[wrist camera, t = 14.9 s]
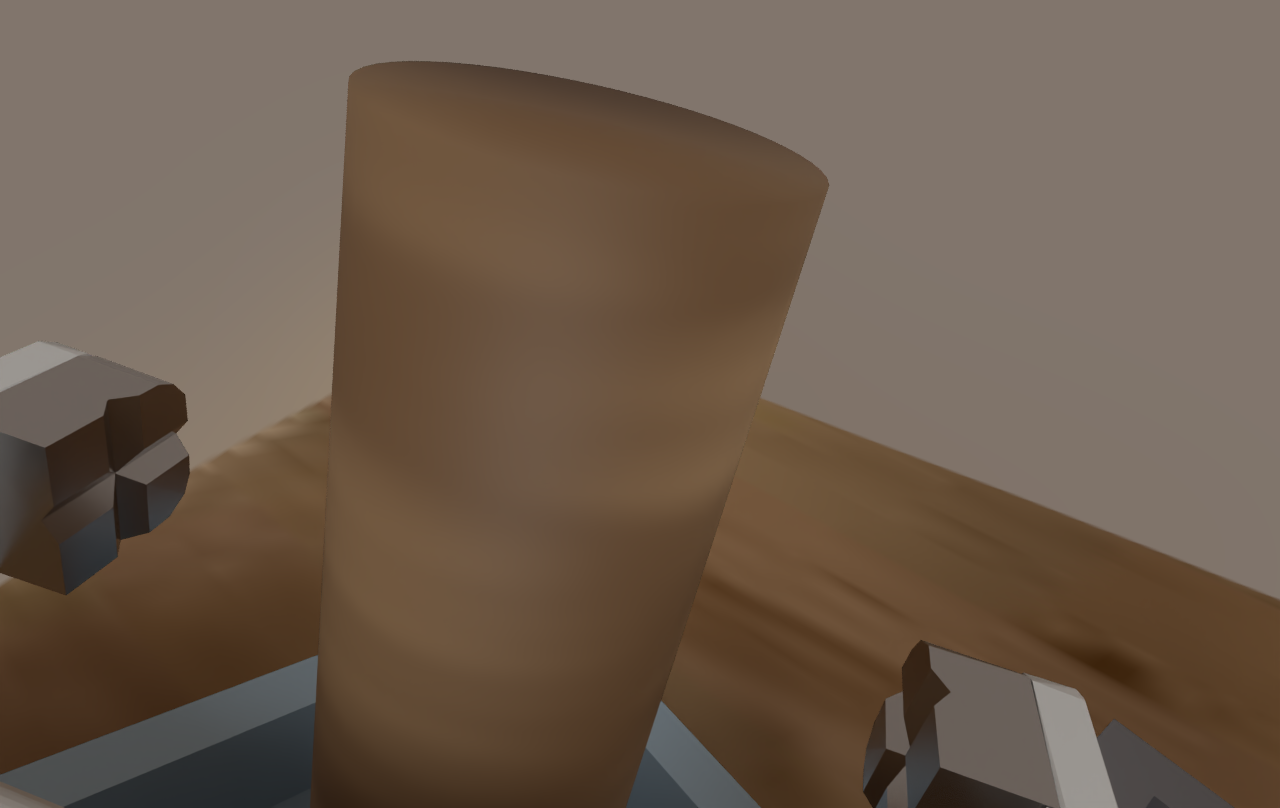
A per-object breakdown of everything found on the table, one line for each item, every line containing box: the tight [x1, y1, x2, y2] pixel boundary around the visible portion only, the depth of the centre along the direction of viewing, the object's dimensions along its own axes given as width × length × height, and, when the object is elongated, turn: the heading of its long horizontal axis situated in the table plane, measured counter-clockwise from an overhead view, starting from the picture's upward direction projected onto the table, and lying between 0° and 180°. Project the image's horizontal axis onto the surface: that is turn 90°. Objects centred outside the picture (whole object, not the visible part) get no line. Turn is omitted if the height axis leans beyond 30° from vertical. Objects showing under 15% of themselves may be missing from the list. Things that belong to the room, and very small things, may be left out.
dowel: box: [310, 61, 829, 808], centre depth 10 cm, size 4×4×14 cm
